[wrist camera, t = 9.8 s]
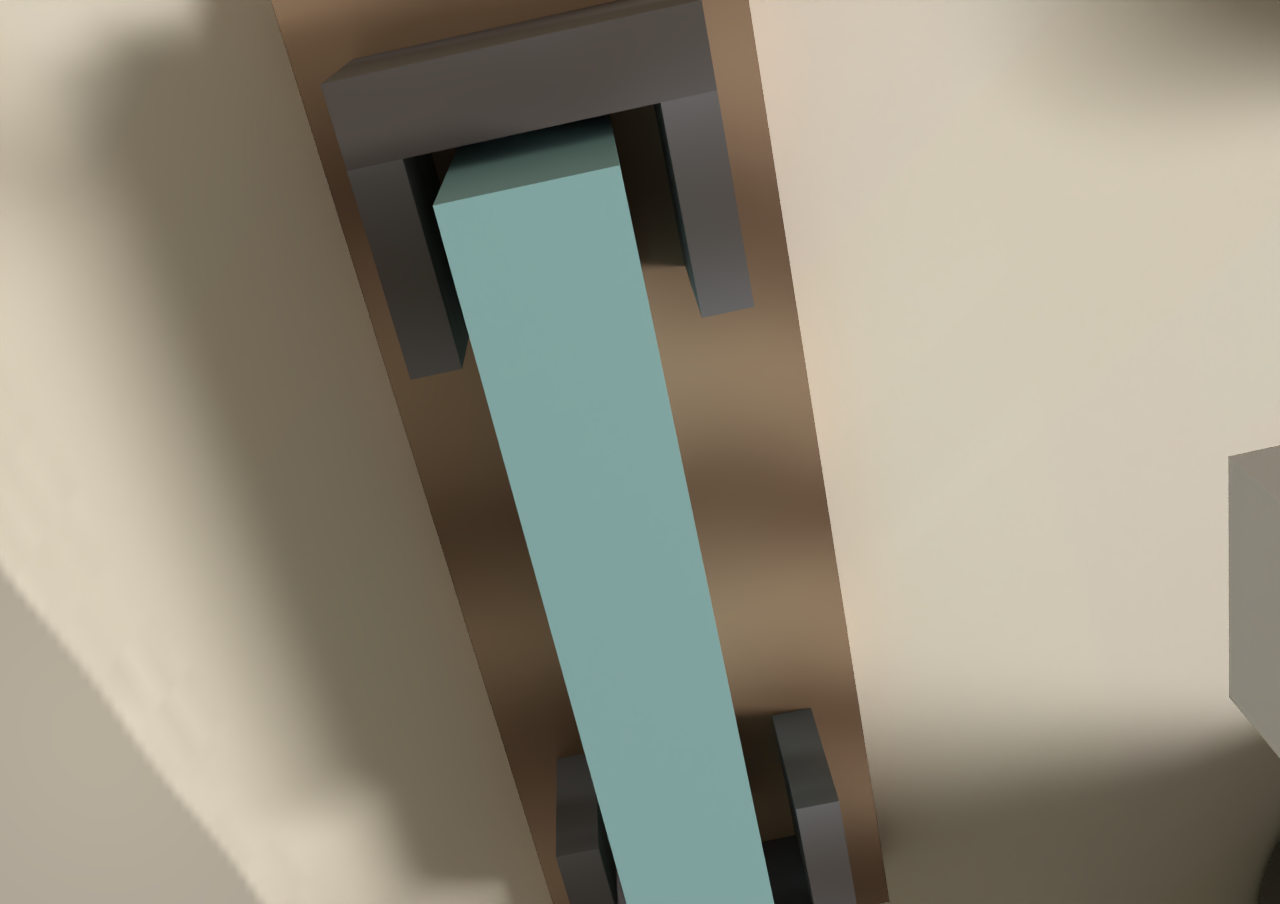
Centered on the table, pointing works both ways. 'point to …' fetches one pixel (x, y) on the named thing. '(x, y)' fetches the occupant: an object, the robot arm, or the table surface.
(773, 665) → the frame
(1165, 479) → the table surface
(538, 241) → the slat
